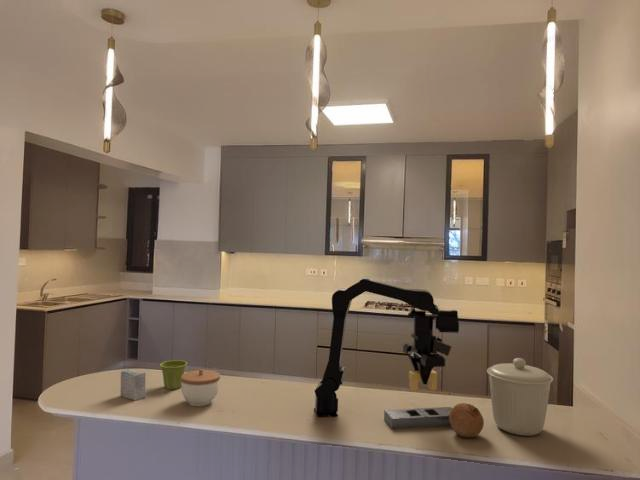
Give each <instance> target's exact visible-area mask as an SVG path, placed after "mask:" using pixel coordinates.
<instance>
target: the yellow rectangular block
mask: <svg viewBox="0 0 640 480" xmlns="http://www.w3.org/2000/svg"><path fill="white" fill-rule="evenodd" d="M408 381H409V382H408V384H409V385H408V388H409V389H410V390H411V392H412V391H413V392H419V383H420V382H422V379H421V376H420V372H419V371H415V370H408ZM437 381H438V372H437V371H435V370H434V369H432V371H431V373H430V376H429V379H428V382H427V388H428V389H429V390H430V391H437V385H438V384H437Z"/></svg>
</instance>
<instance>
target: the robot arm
mask: <svg viewBox="0 0 640 480" xmlns="http://www.w3.org/2000/svg"><path fill="white" fill-rule="evenodd" d="M365 292H367V293H371V294H375V295H379V296H382V297H386V298H390V299H393V300H398V301H401V302H403V303H406V304H408V305H409V306H410V307H411V306H412V307H413V308H412V309H411V310H410V311H409V312H408V313H407V317H409V318H413V333H411V337H412V338H413V342H410V343H409V342H406V343H404V344H403V346H402V353H404V354H406V355H407V354H409V353H410V355H408V356H407V358H408V359H409V362H410V364H411V366H412V368H413V371H419V372H420V376H421V379H422V381H421V382H422V384H423V385H428V379H429V376H430V373H431V371H432V370H433V368H438V367H439V368H441V367H442V368H443V367H446V360H447V359H446V358H445V357H444V356H442V355H440V354H443V355H445V356H447V357H448V356H450V355H449V354H450V352H451V349H452V346H451V345H450V344H447V343H445V342H443V340H442V338H441V337H439V336H436V335H435V334H434V329H436V330H437V331H438V333H445V334H447V333H449V334H459V330H460V322H459V316H458V315H459V313H458V311H457V310H456V309H452V310H446V309H445V310H442V309H441V310H440V309H439V307H438V306H436V304H435V303H434V301H435V300H434V296H433V295H432V293H431V292H430V291H429V290H426V289H420V288H419V289H418V288H405V287H399V286H396V285H391V284H388V283H385V282H380V281H377V280H374V279H373V280H372V279H370V278H368V277H364V278H361V279H360V280H359V281H358V282H356V283H354V284H352V285H351V286H349V287H347V288H339V289H337V290H336V291H335V292H334V293H333V294H332V295H331V308H332V316H333V320H332V321H333V322H332V328H331V338H330V345H329V354H328V361H327V363H326V367H325V370H324V372H323V376H322V380H321V381H319V383H318V384H317V386H316V387H315V389H314V394H315V397H314V398H315V400H314V401H315V402H314V403H315V405H314V408H313V410H314V413H315V415H316V417H337V416H338V411H339V399H338V397H337V393H336V392H337V391H338V390H339V389H340V387H341V386H342V385H343V383H344V381H345V379H346V377H345V376H346V375H345V371H346V368H347V367H346V366H343V363H342V357H343V356H342V355H343V354H342V353H343V346H344V338H345V329H346V322H347V321H346V320H347V317H348V314H349V312H350V308H351V305H352V301H353V299H355V298H357V297H359V296H360V295H362V294H364V293H365ZM415 308H416V309H417V310H416V309H415ZM426 311H427V312H428V313H426ZM429 313H430V314H429ZM439 353H440V354H439Z"/></svg>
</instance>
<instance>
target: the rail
mask: <svg viewBox="0 0 640 480" xmlns="http://www.w3.org/2000/svg"><path fill="white" fill-rule="evenodd" d="M452 408H453V407H452V406H441V407H421V408H420V407H419V408H398V409H397V408H396V409H384V410H383V420H384V422H385V423H386V424H387V425H388V427H389V429H390V428H391V430H397V429H398V430H399V429H401V430H402V429H416V428H417V429H418V428H419V429H420V428H434V427H435V428H437V427H451V423H450V422H449V414H450V411H451V410H452Z"/></svg>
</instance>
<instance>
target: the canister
mask: <svg viewBox="0 0 640 480" xmlns="http://www.w3.org/2000/svg"><path fill="white" fill-rule="evenodd" d="M486 373H487V374H488V378H489V388H490V399H491V408H492V416H493V420H494V423H495V424H496V425H497V427H498V428H500V429H501V430H502V431H504V432H507V433H510V434H512V435H516V436H517V435H518V436H525V437H526V436H527V437H528V436H536V435H538V434H540V433H541V432H542V431H543V429H544V426H545V421H546V416H547V410H548V404H549V398H550V397H549V396H550V391H551V384H552V382H553V381H554V378H553V376H552V375H550V374H549V372H546V370H543V369H541V368H539V367H536V366H531V365H528V364H527V363H526V360H525V359H524V358H521V357H516V358H514V359H512V363H509V362H508V363H498V364H494V365H492V366H489V367H488V368H487V369H486Z"/></svg>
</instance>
